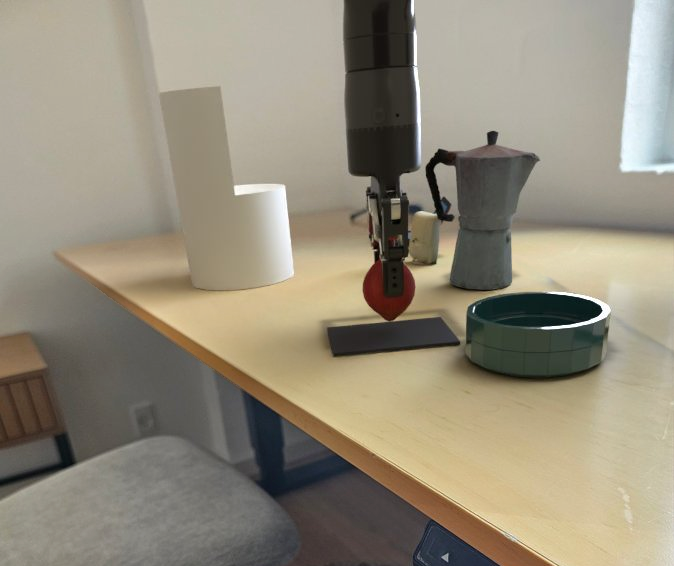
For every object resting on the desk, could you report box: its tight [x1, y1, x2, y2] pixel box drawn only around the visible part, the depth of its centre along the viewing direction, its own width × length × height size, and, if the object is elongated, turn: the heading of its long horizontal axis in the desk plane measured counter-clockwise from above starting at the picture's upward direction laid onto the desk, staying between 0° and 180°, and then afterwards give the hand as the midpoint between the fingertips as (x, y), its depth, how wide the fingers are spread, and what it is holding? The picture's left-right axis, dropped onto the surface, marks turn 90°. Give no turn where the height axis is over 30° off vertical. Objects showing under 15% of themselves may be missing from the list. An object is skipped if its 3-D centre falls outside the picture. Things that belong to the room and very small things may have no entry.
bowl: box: [465, 291, 612, 379], centre depth 65 cm, size 13×13×5 cm
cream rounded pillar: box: [408, 210, 442, 266], centre depth 109 cm, size 6×5×8 cm
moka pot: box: [425, 130, 541, 291], centre depth 91 cm, size 10×15×20 cm, turn 71°
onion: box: [362, 259, 417, 322], centre depth 73 cm, size 6×6×8 cm
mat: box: [326, 316, 461, 358], centre depth 76 cm, size 14×10×1 cm
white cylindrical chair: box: [158, 85, 295, 291], centre depth 104 cm, size 17×17×28 cm
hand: (389, 289), depth 73 cm, fingers closed on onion, 6 cm apart
